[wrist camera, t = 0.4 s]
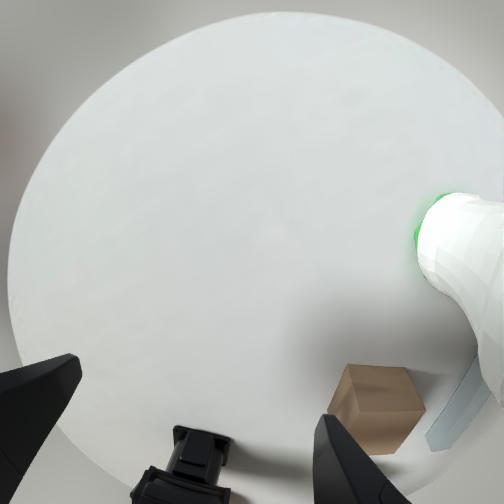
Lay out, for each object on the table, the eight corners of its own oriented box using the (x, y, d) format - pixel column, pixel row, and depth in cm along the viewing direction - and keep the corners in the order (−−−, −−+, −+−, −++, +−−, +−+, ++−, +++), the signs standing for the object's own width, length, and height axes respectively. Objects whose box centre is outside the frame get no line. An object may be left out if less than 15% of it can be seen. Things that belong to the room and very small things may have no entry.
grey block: (442, 433, 24) (449, 448, 21) (424, 435, 24) (431, 452, 22) (505, 327, 20) (519, 341, 17) (489, 326, 20) (504, 341, 17)
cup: (510, 227, 17) (622, 278, 4) (444, 325, 20) (528, 433, 7) (439, 138, 17) (589, 124, 3) (361, 254, 20) (462, 381, 6)
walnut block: (380, 410, 24) (393, 453, 18) (327, 409, 24) (332, 456, 18) (404, 367, 22) (426, 410, 16) (347, 363, 22) (360, 411, 17)
